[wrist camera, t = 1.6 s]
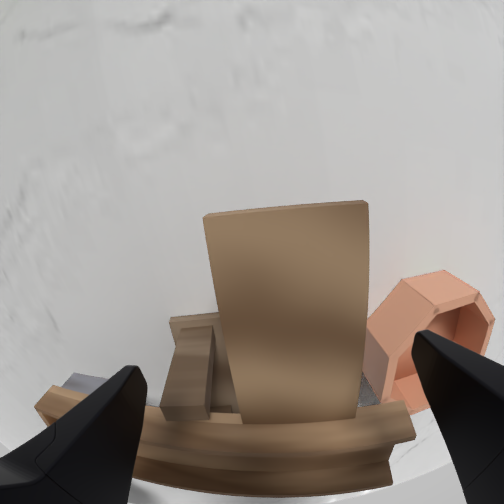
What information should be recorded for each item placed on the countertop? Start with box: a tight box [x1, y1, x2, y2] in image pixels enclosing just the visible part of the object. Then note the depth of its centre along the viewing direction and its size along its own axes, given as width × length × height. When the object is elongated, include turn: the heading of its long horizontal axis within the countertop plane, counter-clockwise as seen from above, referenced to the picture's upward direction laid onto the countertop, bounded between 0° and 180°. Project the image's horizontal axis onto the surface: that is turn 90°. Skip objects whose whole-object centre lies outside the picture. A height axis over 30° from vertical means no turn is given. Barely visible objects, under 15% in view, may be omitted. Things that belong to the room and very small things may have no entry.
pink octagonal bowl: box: [362, 270, 495, 415], centre depth 21 cm, size 12×12×5 cm
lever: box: [34, 200, 417, 498], centre depth 14 cm, size 17×24×5 cm
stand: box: [159, 312, 240, 421], centre depth 19 cm, size 11×4×9 cm, turn 7°
